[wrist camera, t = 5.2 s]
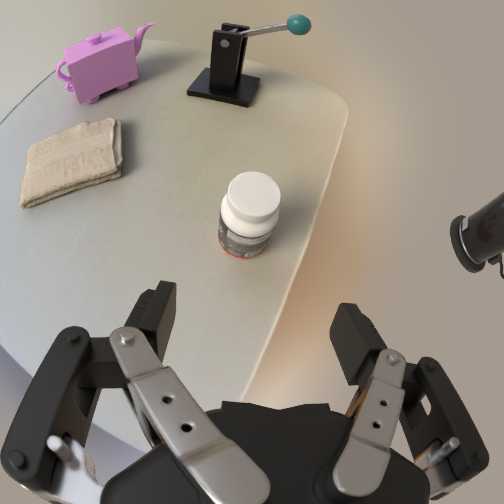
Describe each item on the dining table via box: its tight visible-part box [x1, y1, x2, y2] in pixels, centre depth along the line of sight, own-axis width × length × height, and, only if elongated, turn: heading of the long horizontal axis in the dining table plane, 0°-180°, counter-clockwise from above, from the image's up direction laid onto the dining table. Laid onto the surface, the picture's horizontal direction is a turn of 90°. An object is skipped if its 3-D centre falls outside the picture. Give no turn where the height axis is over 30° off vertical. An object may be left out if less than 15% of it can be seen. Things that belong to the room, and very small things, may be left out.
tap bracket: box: [187, 23, 260, 107], centre depth 36 cm, size 11×9×13 cm
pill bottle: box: [218, 172, 281, 259], centre depth 28 cm, size 6×6×10 cm
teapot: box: [56, 23, 154, 104], centre depth 34 cm, size 20×10×12 cm, turn 125°
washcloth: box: [19, 117, 124, 209], centre depth 31 cm, size 12×18×3 cm, turn 109°
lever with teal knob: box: [228, 15, 311, 40], centre depth 30 cm, size 14×4×4 cm, turn 76°
